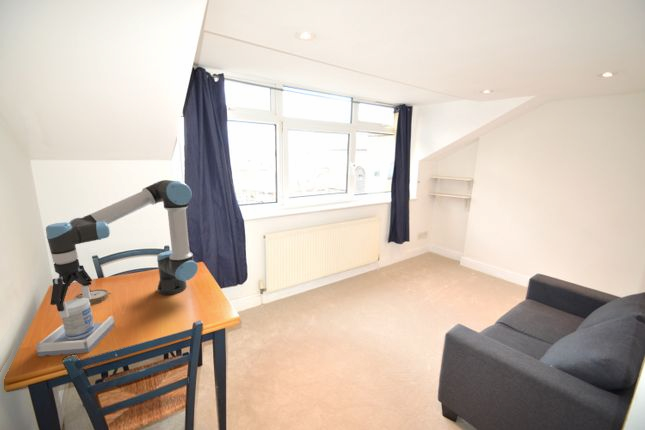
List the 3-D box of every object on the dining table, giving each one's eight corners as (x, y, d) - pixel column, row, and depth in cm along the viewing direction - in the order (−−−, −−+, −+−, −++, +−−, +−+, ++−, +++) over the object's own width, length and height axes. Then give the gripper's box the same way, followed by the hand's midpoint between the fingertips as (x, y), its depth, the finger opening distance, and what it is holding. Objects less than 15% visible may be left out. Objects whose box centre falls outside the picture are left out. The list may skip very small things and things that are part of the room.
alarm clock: (101, 299, 148) (68, 296, 144) (101, 307, 149) (68, 305, 145) (112, 289, 159) (82, 286, 155) (112, 297, 159) (82, 295, 156)
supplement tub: (93, 336, 119) (87, 304, 116) (63, 344, 114) (57, 311, 111) (96, 324, 127) (90, 295, 124) (68, 331, 122) (62, 301, 119)
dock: (114, 325, 130) (113, 316, 129) (89, 352, 112) (86, 341, 111) (71, 328, 127) (69, 318, 126) (38, 356, 110) (35, 345, 109)
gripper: (77, 250, 125) (86, 293, 130) (28, 274, 101) (42, 326, 106) (95, 249, 126) (104, 292, 131) (52, 273, 102) (64, 324, 107)
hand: (76, 307), depth 118 cm, fingers open, 13 cm apart
